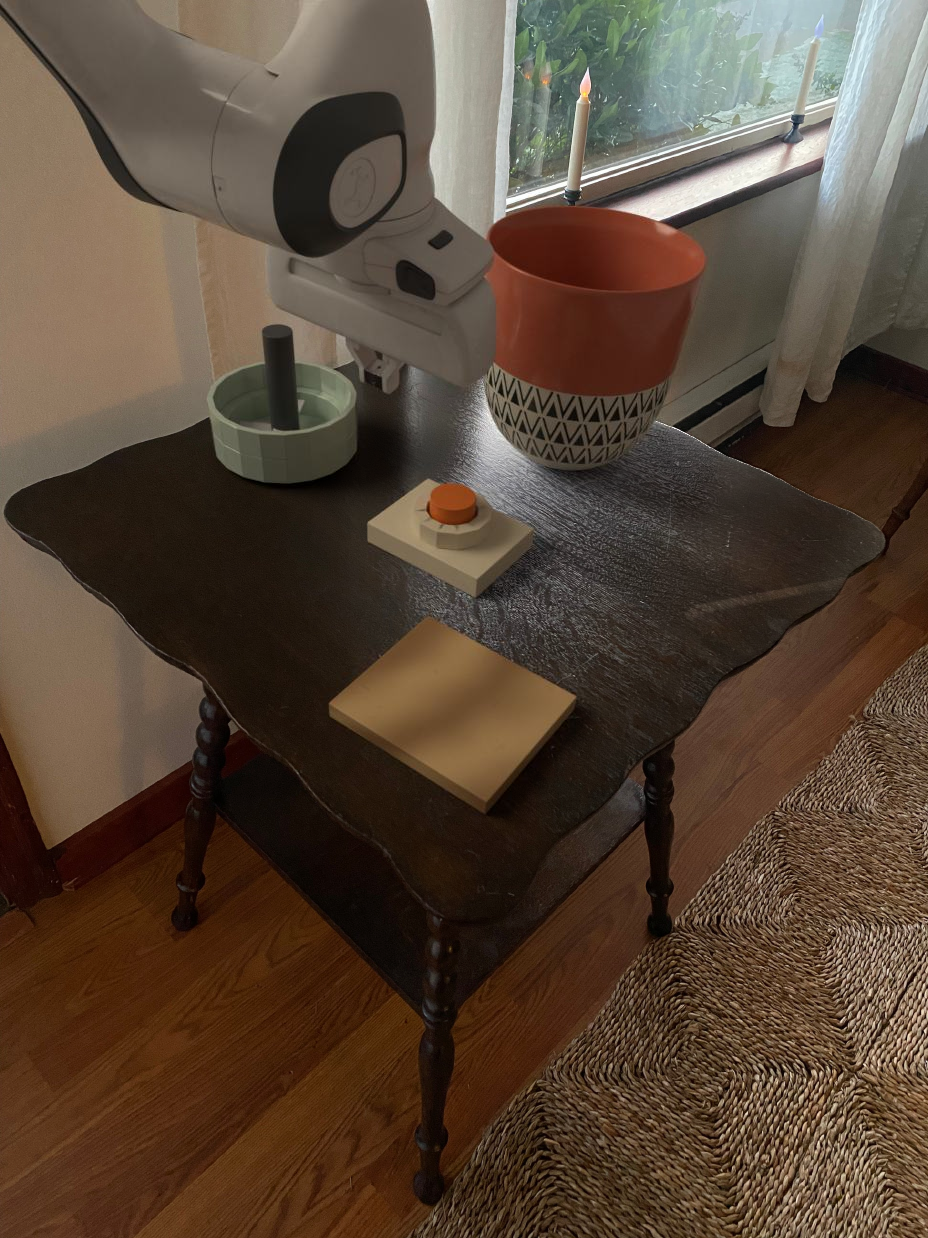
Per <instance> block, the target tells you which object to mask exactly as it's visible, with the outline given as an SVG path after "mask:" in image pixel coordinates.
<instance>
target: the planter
mask: <svg viewBox="0 0 928 1238" xmlns="http://www.w3.org/2000/svg"><path fill="white" fill-rule="evenodd" d="M485 239H486V240H487V241H488V242H489V243H490V244H491V245H492V247H493V249H494V262H493V266H492V268H491V269H490V270H489V271H488V272H487V274H486V275H485V276H484V277H485V278H486V279H487V281H488V282H489V283H490V285H491V287H492V289H493V292H494V295H495V300H496V310H497V341H496V354H495V360H494V362H493V364H492V366H491V368H490V369H489V370H488V371H487V372H486V373H485V374H484V375H483V376H482V381H483V387H484V393H485V398H486V403H487V407H488V411H489V412H490V415H491V418H492V420H493V422H494V424H495V426H496V428H497V429H498V431H499V432H500V433H501V435H502V437H504V438H505V440H506V441H507V442H508V443H509V444H510V445H511V446H512V447H513V448H514V449H515V450H516V451H518V452H519V453H520V454H521V455H523V456H524V457H526V458H527V459H529V460H531V461H533V462H535V463H537V464H539V465H542V466H545V467H548V468H550V469H555V470H561V471H562V470H563V471H583V470H590V469H593V468H594V469H595V468H597V467H601V466H604V465H606V464H609V463H611V462H613V461H615V460H616V459H618V458H620V457H622V456H624V455H625V454H626V453H628V452H630V451H631V450H632V449H633V448H635V447H636V446H637V445H638V444H639V443H640V442H641V441H642V440H643V439H644V437H645V436H646V435H647V433H648V432H649V431H650V429H651V427H652V426H653V424H654V423H655V421H656V419H657V417H658V415H659V413H660V412H661V410H662V408H663V406H664V403H665V400H666V398H667V395H668V393H669V390H670V386H671V383H672V380H673V377H674V374H675V372H676V371H675V370H676V368H677V364H678V362H679V358H680V356H681V353H682V349H683V345H684V343H685V342H684V341H685V338H686V335H687V332H688V329H689V325H690V323H691V319H692V316H693V313H694V309H695V306H696V304H697V301H698V297H699V294H700V290H701V288H702V287H701V286H702V284H703V280H704V276H705V273H706V270H707V269H706V268H707V265H708V260H707V255H706V253H705V251H704V250H703V249H704V248H702V246H701V245H700V244H699V243H698V242H697V241H696V240H694V239H693V238H692V237H691V236H689V235H688V234H686V233H685V232H683V231H681V230H680V229H677V228H675V227H674V226H672V225H669V224H667V223H664V222H661V221H659V220H656V219H653V218H650V217H647V216H644V215H641V214H636V213H632V212H627V211H622V210H618V209H612V208H604V207H596V206H583V205H582V206H581V205H552V206H551V205H550V206H541V207H534V208H528V209H523V210H519V211H517V212H513V213H511V214H510V213H509V214H508V215H505V216H504V217H502V218H501V217H500V219H498V220H497V221H495V223H493V224H492V225H491V226H490V227H489V229H488V231H487V233H486V238H485Z"/></svg>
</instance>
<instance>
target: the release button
mask: <svg viewBox="0 0 928 1238" xmlns="http://www.w3.org/2000/svg"><path fill="white" fill-rule="evenodd" d="M473 491H474V490H473V489H471V488H470V487H468V486H467V485H465V484H461V483H455V482H451V483H443V484H441V485H439V486H437V487H436V488H434V489H433V490H432V492H431V494H430V515H431V517H432V518H433V519H434V520H436V521H438V522H440V523H442V524H446V525H455V526H457V525H461V524H466V523H469V522H470V521H471V520H472V519H473V518H474V516H475V506H476V495H475V493H474V492H475V491H474V492H473Z"/></svg>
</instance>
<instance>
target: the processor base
mask: <svg viewBox="0 0 928 1238" xmlns="http://www.w3.org/2000/svg"><path fill="white" fill-rule="evenodd" d="M439 485H442V484H441V483H439V482H437V481H434V480H433V479H430V478H427V479H425V480H423V481H422V482H421V483H420V484H419V485H417V486H415V487H414V488H413V489H411V490H410V491H409V492H407V493H406V494H405V495H404V496H402V497H400V498H399V499H398V500H396V501H395V502H394V503H392V504H391V505H390V506H388V507H387V508H385V509H384V510H383V511H381V512H380V513H379V514H377V515H376V516H374V517H373V518H371V519H370V520H369V521H368V522H367V524H366V527H367V543H369V544H371V545H373V546H375V547H377V548H379V549H381V550H382V551H385V552H387V553H389V554H390V555H393V556H395V557H397V558H398V559H400V560H402V561H404V562H406V563H408V564H409V565H411V566H414V567H416V568H418V569H420V570H421V571H423V572H425V573H426V574H429V575H430V576H433V577H434V578H436V579H439V580H440V581H442V582H444V583H446V584H448V585H450V586H452V587H453V588H456V589H458V590H460V591H461V592H463V593H466V594H468V595H469V596H471V597H473V598H475V599H476V598H478V597H479V596H480V595H481V594H482V593H483V592H484V591H485V590H486V589H487V588H489V587H490V586H491V585H492V584H493V583H494V582H495V581H496V580H497V579H498V578H499V577H501V576H502V575H503V574H505V572H506V571H507V570H508V569H509V568H511V566H513V565H514V564H515V563H516V562H517V561H518V560H519V559H520V558H522V557H523V556H524V554H526V553H527V552H528V551H529V550H530V549H531V548H532V547H533V540H534V533H535V528H534V527H533V526H530V525H529V524H526V523H524V522H522V521H520V520H518V519H516V518H513V517H511V516H509V515H507V514H505V513H502V512H501V511H498V510H496V509H494V508H493V507H492V505H491V503H490V502H489V501H488V500H487V499H486V498H485V496H484V495H483V494H480V493H478V492H476V491H474V490H472V491H473V492H474V493H475V495H476V506H475V516H474V518H473V519H472V520H471V521H470V522H469V523H466V524H461V525H457V526H455V525H446V524H442V523H440V522H438V521H436V520H434V519H433V518H432V517H431V515H430V494H431V492H432V490H433V489H434V488H436V487H437V486H439Z"/></svg>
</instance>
